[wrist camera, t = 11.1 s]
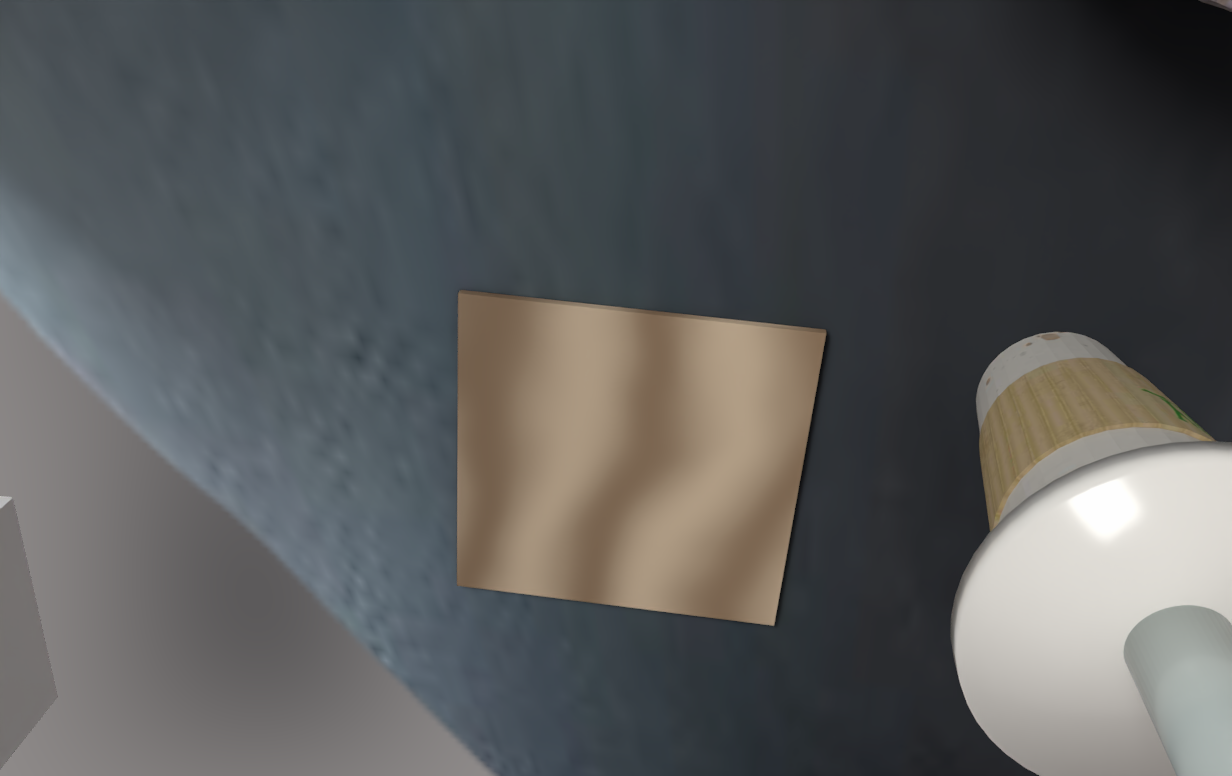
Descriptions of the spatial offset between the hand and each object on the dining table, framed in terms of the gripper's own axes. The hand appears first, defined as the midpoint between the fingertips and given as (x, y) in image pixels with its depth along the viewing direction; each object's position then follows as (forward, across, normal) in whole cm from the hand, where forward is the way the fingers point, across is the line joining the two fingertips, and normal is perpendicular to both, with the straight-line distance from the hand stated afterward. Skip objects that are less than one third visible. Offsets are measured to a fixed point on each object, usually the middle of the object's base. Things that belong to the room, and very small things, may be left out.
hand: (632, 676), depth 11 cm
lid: (+20, +16, -13) cm, 28 cm away
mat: (+35, -2, -19) cm, 40 cm away
